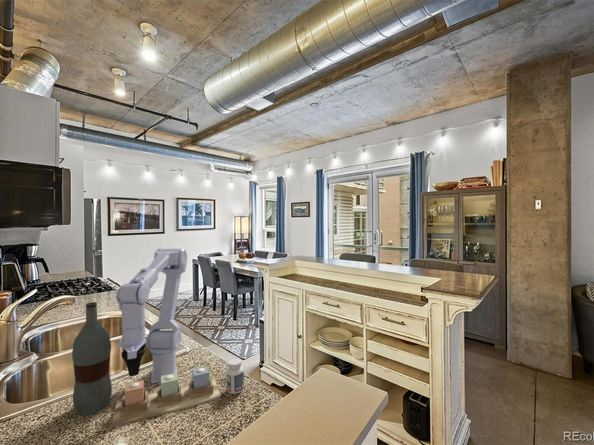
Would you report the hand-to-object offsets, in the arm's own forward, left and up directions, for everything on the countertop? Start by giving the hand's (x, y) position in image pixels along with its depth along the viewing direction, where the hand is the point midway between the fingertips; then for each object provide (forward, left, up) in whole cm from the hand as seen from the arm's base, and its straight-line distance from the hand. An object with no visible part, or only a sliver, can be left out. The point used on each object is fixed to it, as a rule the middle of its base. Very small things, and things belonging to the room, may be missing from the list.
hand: (134, 373), depth 83 cm
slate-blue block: (0, +18, -8) cm, 20 cm away
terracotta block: (0, 0, -8) cm, 8 cm away
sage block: (0, +9, -8) cm, 12 cm away
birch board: (0, +9, -10) cm, 14 cm away
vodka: (-7, -11, -11) cm, 17 cm away
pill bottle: (+3, +28, -11) cm, 30 cm away
